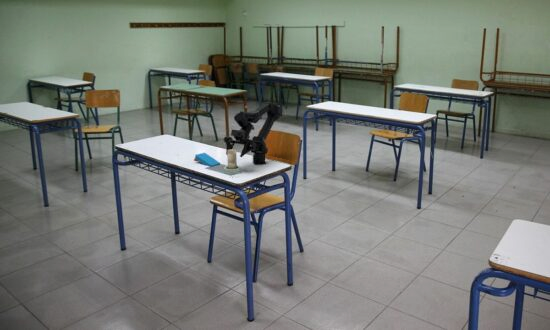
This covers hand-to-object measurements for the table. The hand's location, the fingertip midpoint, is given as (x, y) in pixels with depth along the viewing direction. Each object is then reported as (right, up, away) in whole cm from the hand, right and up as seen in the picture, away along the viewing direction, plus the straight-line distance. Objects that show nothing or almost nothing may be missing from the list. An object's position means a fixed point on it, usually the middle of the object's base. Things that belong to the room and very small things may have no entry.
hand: (233, 155), depth 255 cm
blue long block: (-18, -5, +21) cm, 28 cm away
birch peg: (-1, -9, +1) cm, 9 cm away
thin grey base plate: (-5, -9, +6) cm, 12 cm away
